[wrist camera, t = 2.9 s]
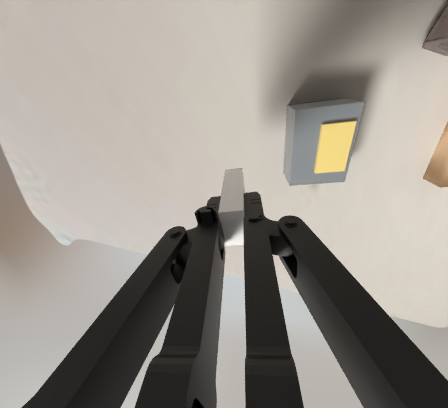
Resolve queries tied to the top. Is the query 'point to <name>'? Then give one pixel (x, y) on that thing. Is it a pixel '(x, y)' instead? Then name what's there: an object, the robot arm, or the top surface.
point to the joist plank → (439, 163)
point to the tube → (439, 36)
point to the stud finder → (320, 140)
